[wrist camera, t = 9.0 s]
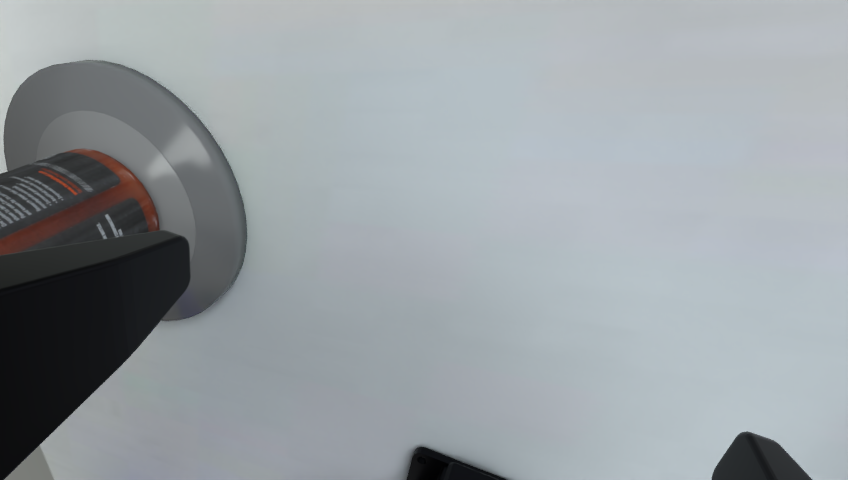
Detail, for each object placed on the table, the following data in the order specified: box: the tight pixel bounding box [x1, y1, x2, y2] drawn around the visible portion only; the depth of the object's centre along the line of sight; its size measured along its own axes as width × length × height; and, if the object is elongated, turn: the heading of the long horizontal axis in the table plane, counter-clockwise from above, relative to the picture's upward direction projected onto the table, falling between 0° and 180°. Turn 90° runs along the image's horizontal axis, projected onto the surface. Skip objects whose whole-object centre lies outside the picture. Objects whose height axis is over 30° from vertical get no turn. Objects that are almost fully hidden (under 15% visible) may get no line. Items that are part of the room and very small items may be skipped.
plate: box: [4, 60, 247, 321], centre depth 26 cm, size 13×13×1 cm
